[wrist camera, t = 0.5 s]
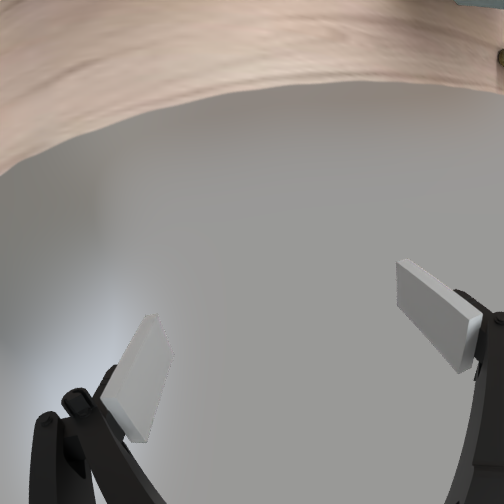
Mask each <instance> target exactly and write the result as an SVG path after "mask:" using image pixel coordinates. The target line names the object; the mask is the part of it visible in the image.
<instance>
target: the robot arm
mask: <svg viewBox="0 0 504 504" xmlns="http://www.w3.org/2000/svg"><path fill="white" fill-rule="evenodd" d="M396 271H397V272H396V273H397V306H398V307H399V308H400V309H401V310H402V311H403V312H404V313H405V315H406V316H407V317H408V318H409V319H410V320H411V321H412V322H413V323H414V324H415V325H416V326H417V328H419V330H420V331H421V332H422V333H423V334H424V335H425V337H426V338H427V339H428V340H429V341H430V342H431V343H432V344H433V346H434V347H435V348H436V349H437V350H438V351H439V352H440V354H441V355H442V356H443V357H444V358H445V359H446V360H447V362H448V363H449V364H450V365H451V366H452V368H453V369H454V370H455V371H456V372H457V373H458V374H460V373H462V372H464V371H466V370H468V369H470V368H471V367H472V363H473V359H474V357H475V358H476V359H477V360H478V361H479V363H478V367H477V370H476V374H475V378H474V381H476V383H475V390H474V396H473V402H472V408H471V413H470V419H469V423H468V428H467V433H466V437H465V441H464V445H463V449H462V453H461V456H460V460H459V463H458V467H457V470H456V473H455V476H454V479H453V482H452V485H451V488H450V491H449V494H448V496H447V499H446V501H445V503H444V504H504V312H495V313H492V312H491V311H490V310H488V309H487V308H486V307H484V306H483V305H482V304H480V303H479V302H477V301H476V300H475V299H474V298H471V296H470V295H468V294H467V293H465V292H463V291H460V290H457V289H455V290H451V289H450V288H449V287H447V286H446V285H445V284H443V283H442V282H441V281H439V280H438V279H436V278H435V277H434V276H432V275H431V274H429V273H428V272H427V271H425V270H424V269H422V268H421V267H420V266H418V265H417V264H415V263H414V262H412V261H411V260H409V259H408V258H407V259H404V260H400V261H396ZM173 356H174V352H173V350H172V348H171V345H170V343H169V341H168V338H167V336H166V334H165V331H164V329H163V326H162V324H161V321H160V319H159V316H158V314H153V315H147V316H145V317H144V319H143V321H142V323H141V324H140V326H139V328H138V329H137V331H136V333H135V335H134V336H133V338H132V340H131V342H130V343H129V345H128V347H127V349H126V351H125V352H124V354H123V356H122V358H121V360H120V362H119V363H118V365H113V366H112V367H111V368H110V369H109V370H108V371H107V372H106V374H105V376H104V377H103V380H102V381H101V383H100V386H99V387H98V388H97V390H96V392H95V394H94V395H93V397H91V396H90V394H89V393H88V391H87V390H86V389H84V388H75V389H73V390H71V391H69V392H67V393H66V394H65V395H64V396H63V398H62V400H61V404H62V406H63V407H64V409H65V410H66V411H67V413H68V414H69V416H70V417H68V418H63V419H60V417H59V416H58V415H57V414H56V413H55V412H53V411H49V412H46V413H43V414H42V415H40V416H39V418H38V419H37V420H36V423H35V428H34V435H33V443H32V452H31V464H30V481H29V504H96V501H95V496H94V489H93V483H92V475H91V471H92V473H93V475H94V477H95V480H96V482H97V484H98V486H99V488H100V490H101V492H102V494H103V496H104V498H105V500H106V502H107V504H166V502H165V501H164V500H163V498H162V497H161V496H160V494H159V493H158V492H157V490H156V489H155V488H154V486H153V485H152V483H151V482H150V481H149V479H148V478H147V476H146V475H145V474H144V472H143V471H142V469H141V468H140V466H139V465H138V463H137V462H136V460H135V459H134V457H133V455H132V454H131V452H130V451H129V449H128V447H127V446H126V444H125V443H124V442H123V439H124V436H125V435H126V436H127V437H128V439H129V440H130V441H131V442H133V443H134V442H135V443H147V441H148V437H149V434H150V431H151V427H152V424H153V420H154V417H155V414H156V410H157V407H158V404H159V401H160V397H161V394H162V391H163V388H164V385H165V381H166V378H167V375H168V372H169V369H170V366H171V363H172V359H173Z"/></svg>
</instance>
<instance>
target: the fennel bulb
mask: <svg viewBox="0 0 504 504" xmlns="http://www.w3.org/2000/svg"><path fill="white" fill-rule="evenodd" d="M499 63H500V64H501V65H502V66H503V67H504V49H503V50H501V52H500V53H499Z"/></svg>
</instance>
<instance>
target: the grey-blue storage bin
mask: <svg viewBox="0 0 504 504" xmlns="http://www.w3.org/2000/svg"><path fill="white" fill-rule="evenodd" d="M454 1H455V2H456V3H457V4H458V5H466V6H479V7H489V8H497V9H504V0H454Z"/></svg>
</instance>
